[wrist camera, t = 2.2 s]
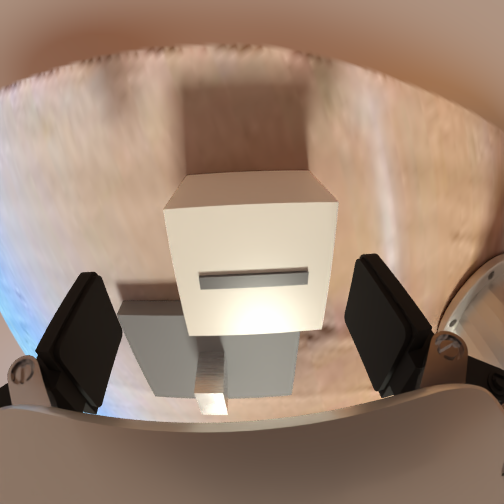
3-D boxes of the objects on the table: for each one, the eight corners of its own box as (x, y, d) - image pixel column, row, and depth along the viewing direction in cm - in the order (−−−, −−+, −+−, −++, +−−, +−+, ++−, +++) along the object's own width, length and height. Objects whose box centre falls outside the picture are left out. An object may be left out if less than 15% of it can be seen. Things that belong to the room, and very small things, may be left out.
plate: (298, 295, 18) (302, 310, 17) (289, 381, 23) (291, 394, 22) (123, 300, 18) (116, 314, 17) (158, 383, 23) (155, 396, 22)
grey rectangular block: (224, 351, 19) (223, 393, 16) (228, 376, 20) (227, 414, 17) (198, 352, 19) (194, 393, 16) (205, 376, 20) (201, 414, 17)
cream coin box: (308, 170, 14) (340, 203, 10) (303, 272, 18) (322, 331, 13) (186, 175, 14) (161, 211, 10) (199, 277, 17) (188, 338, 13)
